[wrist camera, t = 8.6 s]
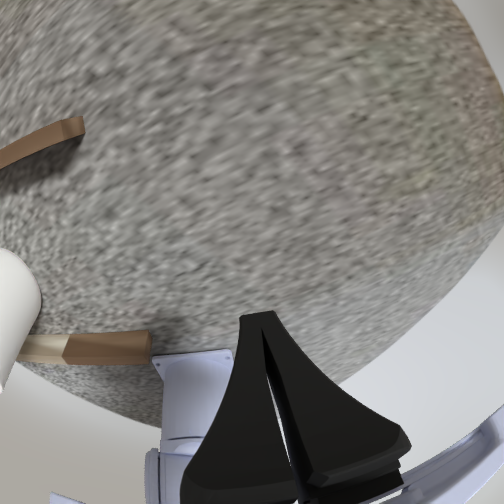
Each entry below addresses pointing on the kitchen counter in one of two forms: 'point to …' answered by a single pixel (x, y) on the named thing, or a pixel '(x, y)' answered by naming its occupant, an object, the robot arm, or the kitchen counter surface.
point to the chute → (74, 345)
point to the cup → (15, 309)
